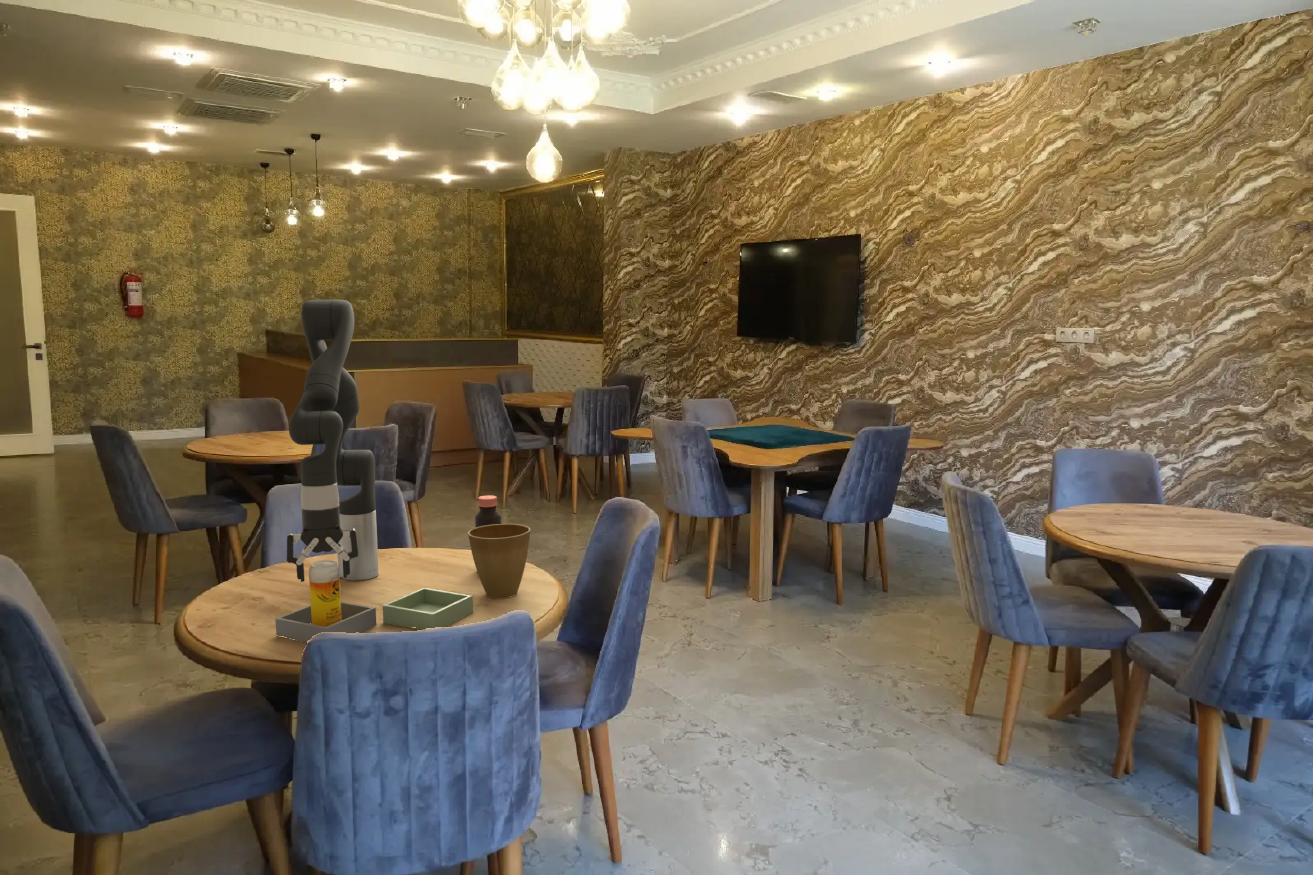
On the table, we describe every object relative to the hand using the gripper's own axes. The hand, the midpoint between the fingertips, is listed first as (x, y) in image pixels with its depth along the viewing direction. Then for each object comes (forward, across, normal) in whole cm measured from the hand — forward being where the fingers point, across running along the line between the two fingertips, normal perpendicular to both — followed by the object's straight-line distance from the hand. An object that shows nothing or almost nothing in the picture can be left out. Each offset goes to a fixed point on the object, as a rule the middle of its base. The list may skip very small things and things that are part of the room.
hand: (324, 578), depth 191 cm
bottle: (+11, +41, +33) cm, 54 cm away
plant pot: (+12, +40, +13) cm, 44 cm away
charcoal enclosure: (+12, 0, 0) cm, 12 cm away
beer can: (+12, 0, 0) cm, 12 cm away
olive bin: (+12, +22, +1) cm, 25 cm away
